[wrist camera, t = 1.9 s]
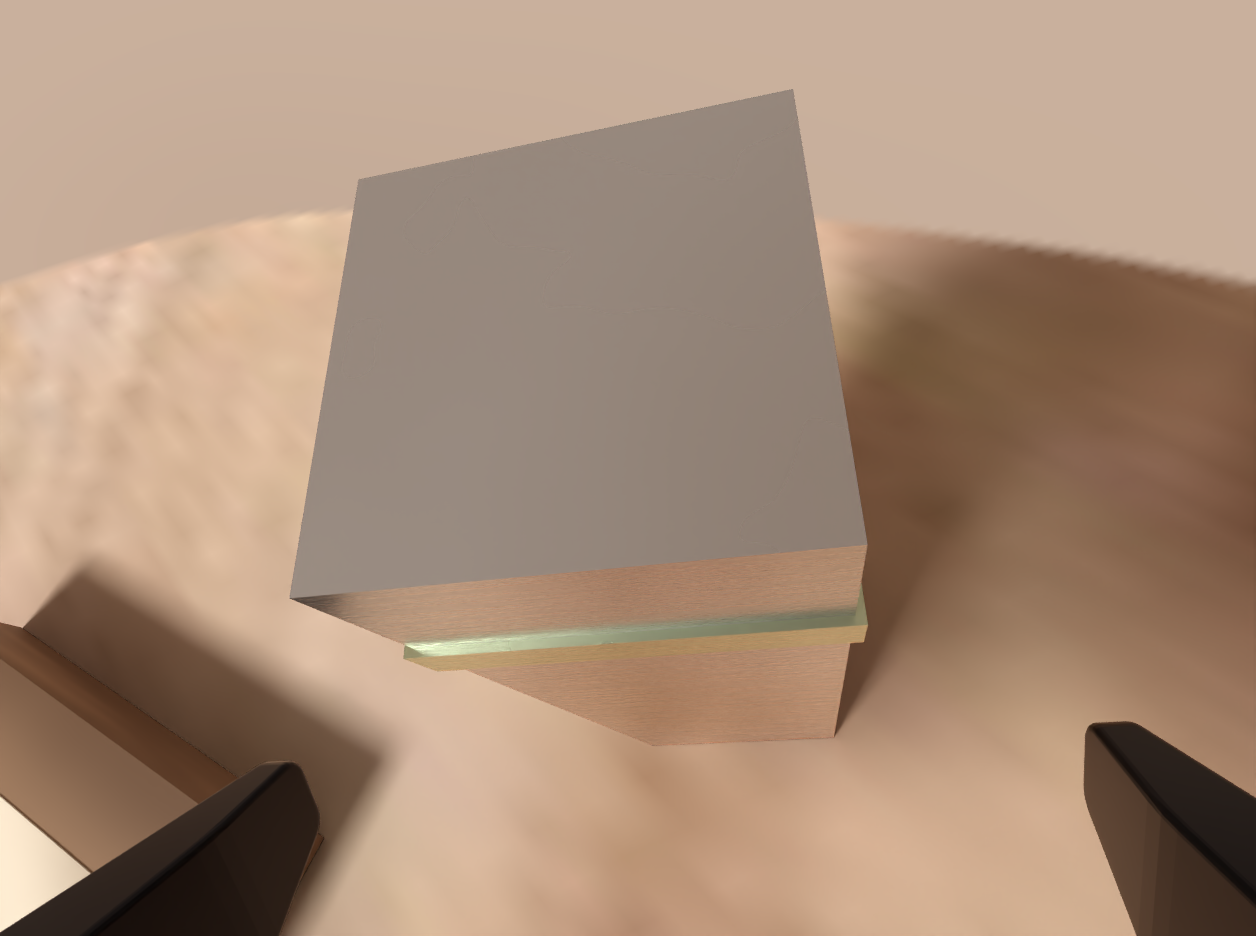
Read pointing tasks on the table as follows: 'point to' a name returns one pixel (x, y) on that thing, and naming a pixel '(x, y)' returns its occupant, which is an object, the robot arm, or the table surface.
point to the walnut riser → (80, 775)
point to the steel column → (598, 430)
